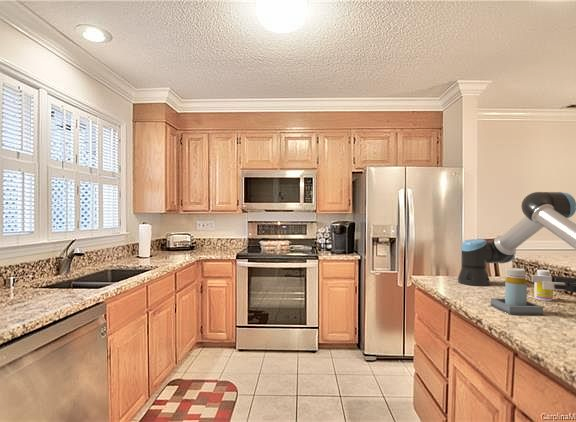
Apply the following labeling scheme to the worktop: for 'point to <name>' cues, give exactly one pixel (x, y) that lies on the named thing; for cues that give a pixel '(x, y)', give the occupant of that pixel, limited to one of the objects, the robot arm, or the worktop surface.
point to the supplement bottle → (538, 288)
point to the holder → (517, 308)
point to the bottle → (515, 287)
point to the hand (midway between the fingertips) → (537, 281)
